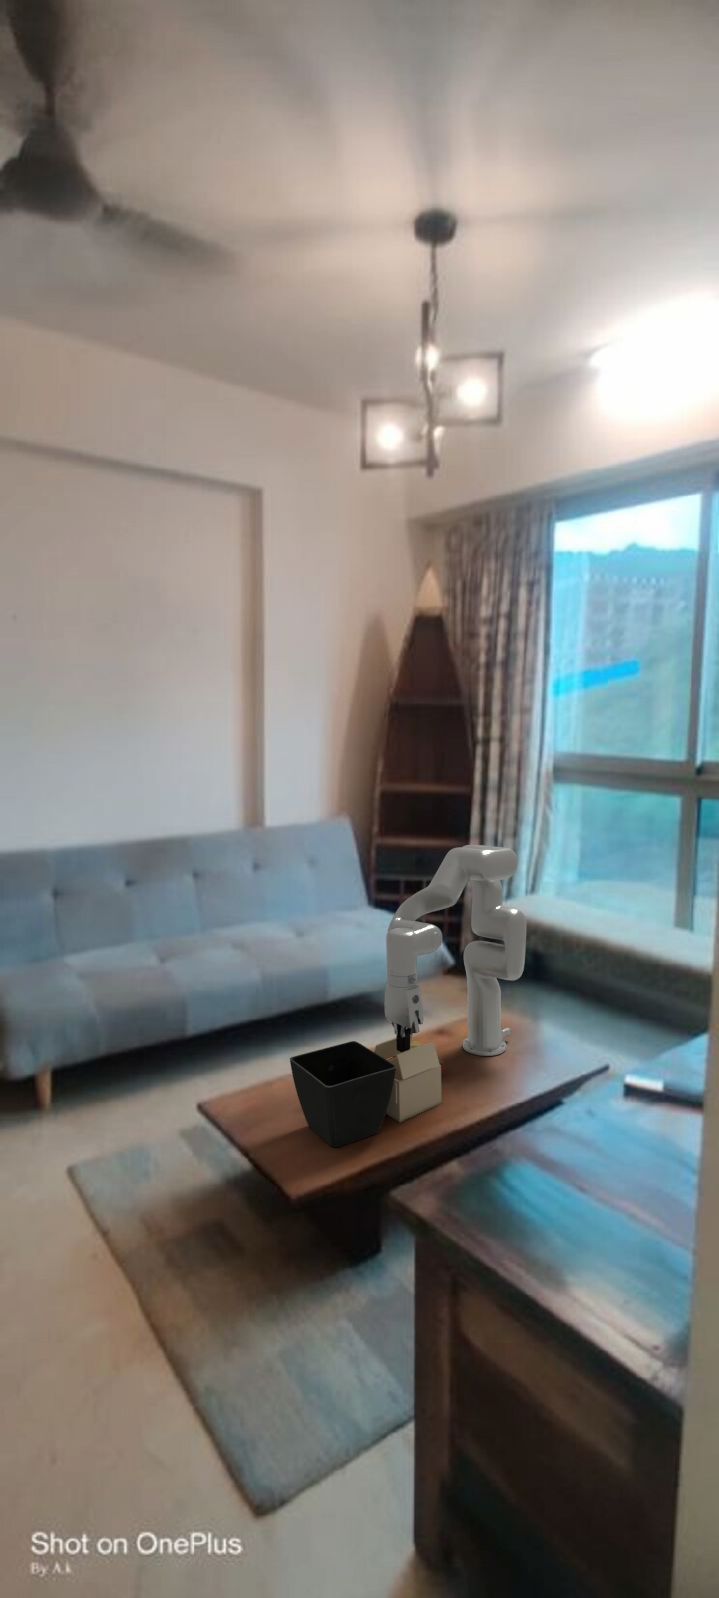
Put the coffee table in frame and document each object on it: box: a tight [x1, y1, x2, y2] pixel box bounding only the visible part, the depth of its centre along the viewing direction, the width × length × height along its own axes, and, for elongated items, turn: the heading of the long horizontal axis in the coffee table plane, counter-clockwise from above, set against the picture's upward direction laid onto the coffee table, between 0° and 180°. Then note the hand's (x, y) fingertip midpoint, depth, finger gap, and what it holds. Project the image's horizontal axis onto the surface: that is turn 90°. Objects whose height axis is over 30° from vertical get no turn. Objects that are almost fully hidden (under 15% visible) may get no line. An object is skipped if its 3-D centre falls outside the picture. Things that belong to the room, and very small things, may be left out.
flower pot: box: [289, 1040, 396, 1148], centre depth 187 cm, size 19×19×17 cm
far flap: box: [373, 1033, 414, 1060], centre depth 201 cm, size 12×6×1 cm
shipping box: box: [385, 1057, 442, 1123], centre depth 198 cm, size 15×11×10 cm
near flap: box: [396, 1040, 440, 1080], centre depth 193 cm, size 12×6×1 cm
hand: (403, 1049), depth 198 cm, fingers closed
